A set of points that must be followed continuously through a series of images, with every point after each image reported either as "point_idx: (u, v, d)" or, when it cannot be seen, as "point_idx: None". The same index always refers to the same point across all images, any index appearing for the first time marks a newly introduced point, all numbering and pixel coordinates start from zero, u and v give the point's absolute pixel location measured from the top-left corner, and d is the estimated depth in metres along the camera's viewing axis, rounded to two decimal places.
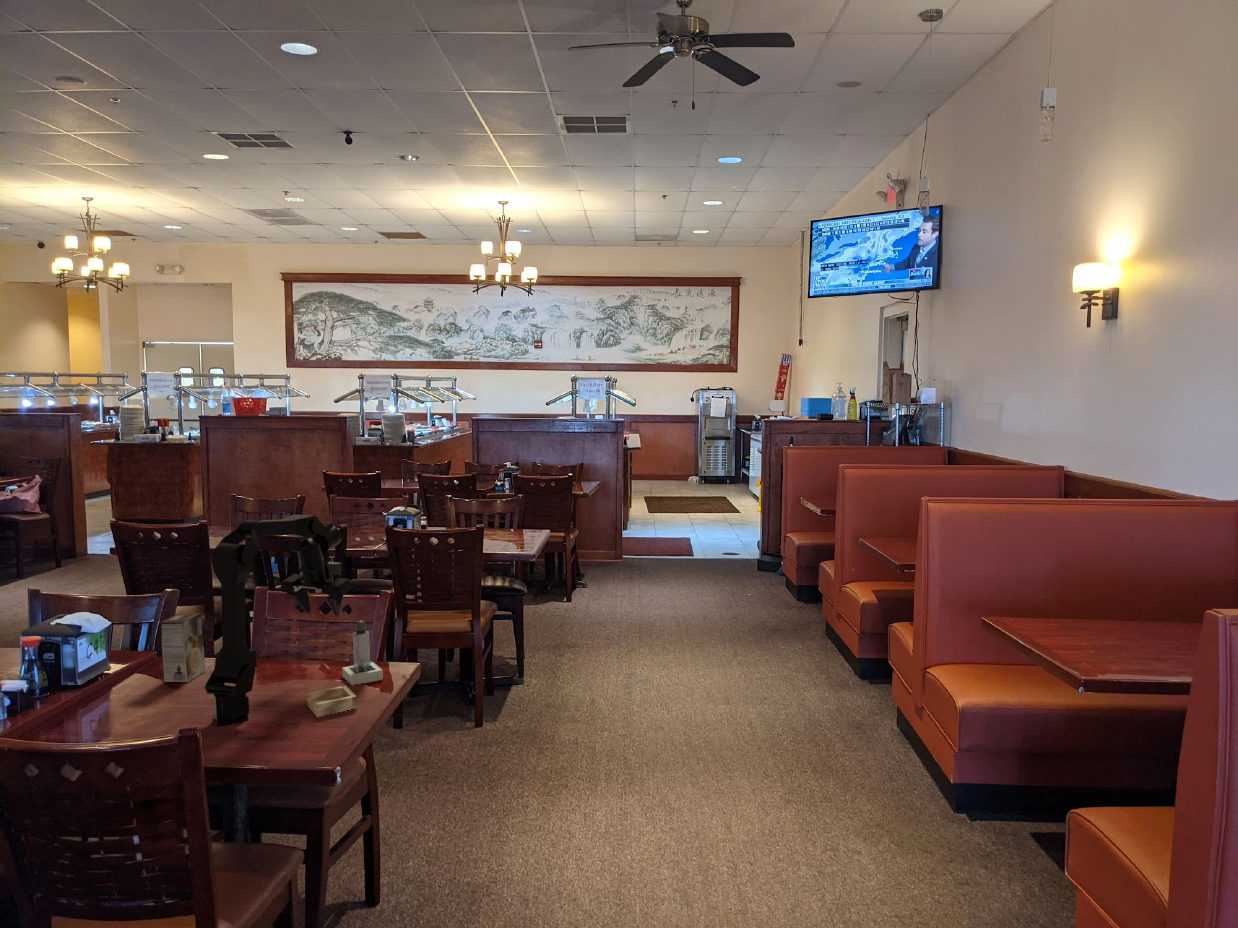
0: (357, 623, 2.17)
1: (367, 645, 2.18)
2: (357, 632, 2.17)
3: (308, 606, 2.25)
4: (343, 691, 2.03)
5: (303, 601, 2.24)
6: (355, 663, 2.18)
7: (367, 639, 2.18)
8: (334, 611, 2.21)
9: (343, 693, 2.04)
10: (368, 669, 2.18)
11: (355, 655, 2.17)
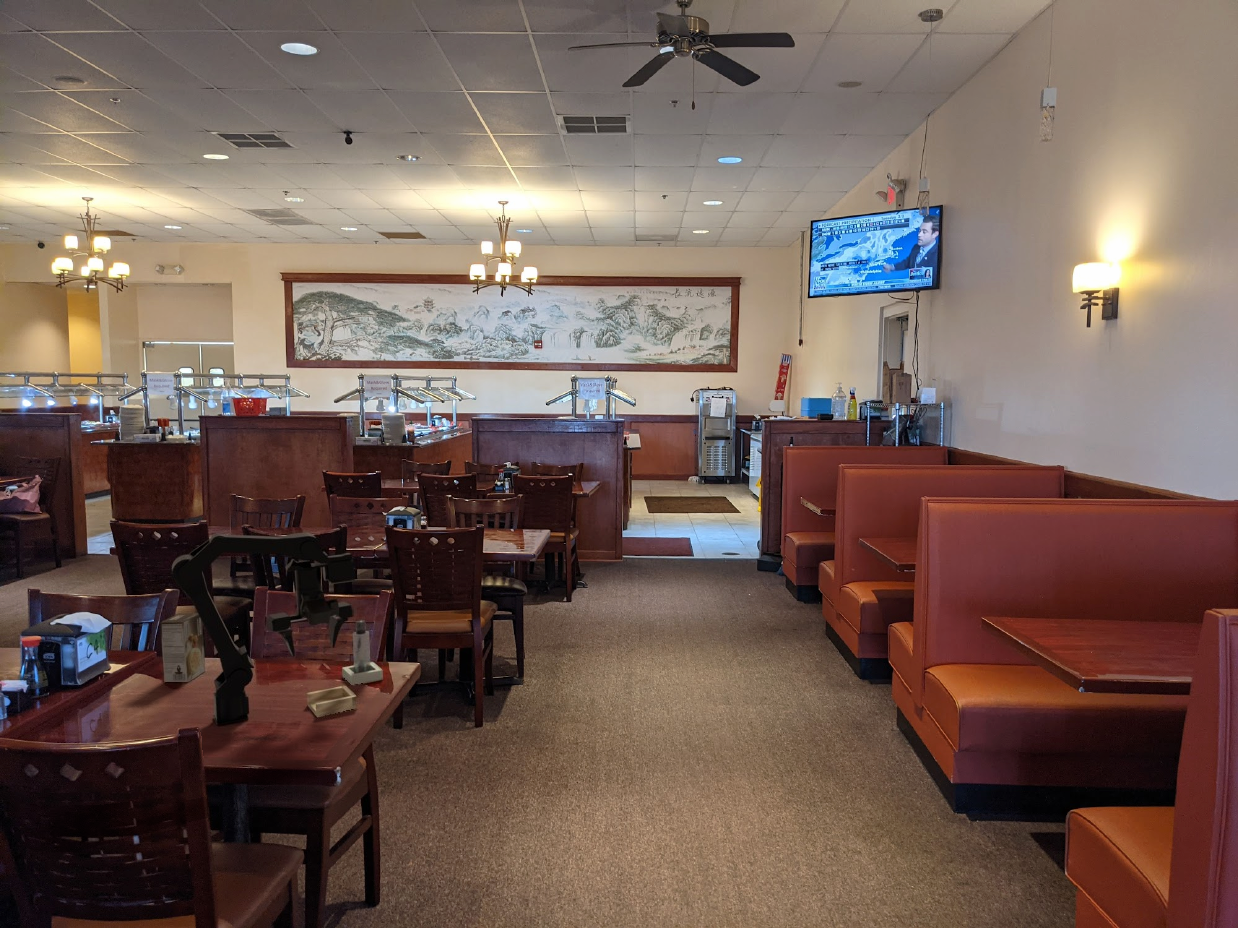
0: (357, 623, 2.17)
1: (367, 645, 2.18)
2: (357, 632, 2.17)
3: (331, 640, 2.03)
4: (343, 691, 2.03)
5: (330, 630, 2.04)
6: (355, 663, 2.18)
7: (367, 639, 2.18)
8: None
9: (343, 693, 2.04)
10: (368, 669, 2.18)
11: (355, 655, 2.17)
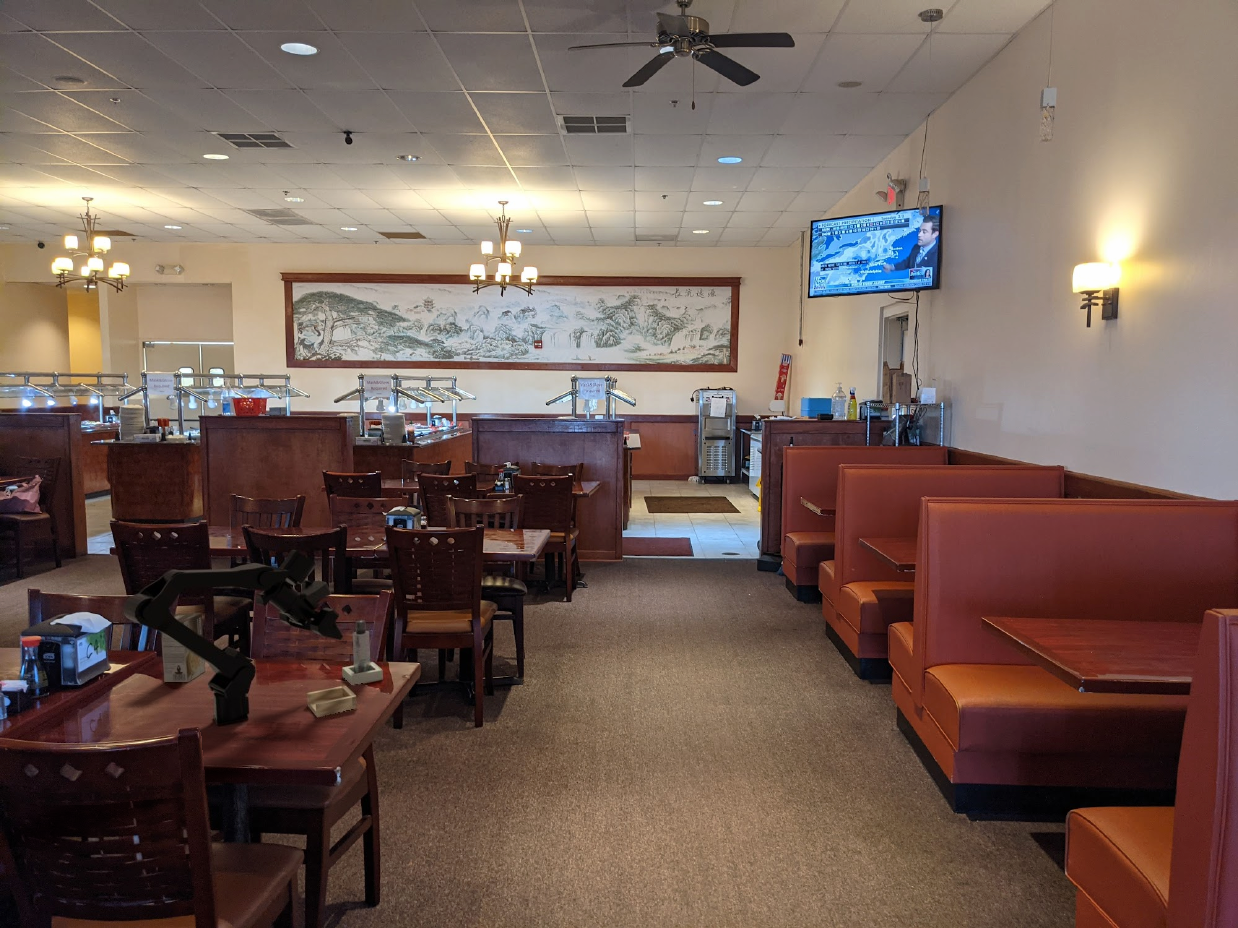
0: (357, 623, 2.17)
1: (367, 645, 2.18)
2: (357, 632, 2.17)
3: None
4: (343, 691, 2.03)
5: (308, 626, 2.12)
6: (355, 663, 2.18)
7: (367, 639, 2.18)
8: (334, 638, 2.07)
9: (343, 693, 2.04)
10: (368, 669, 2.18)
11: (355, 655, 2.17)
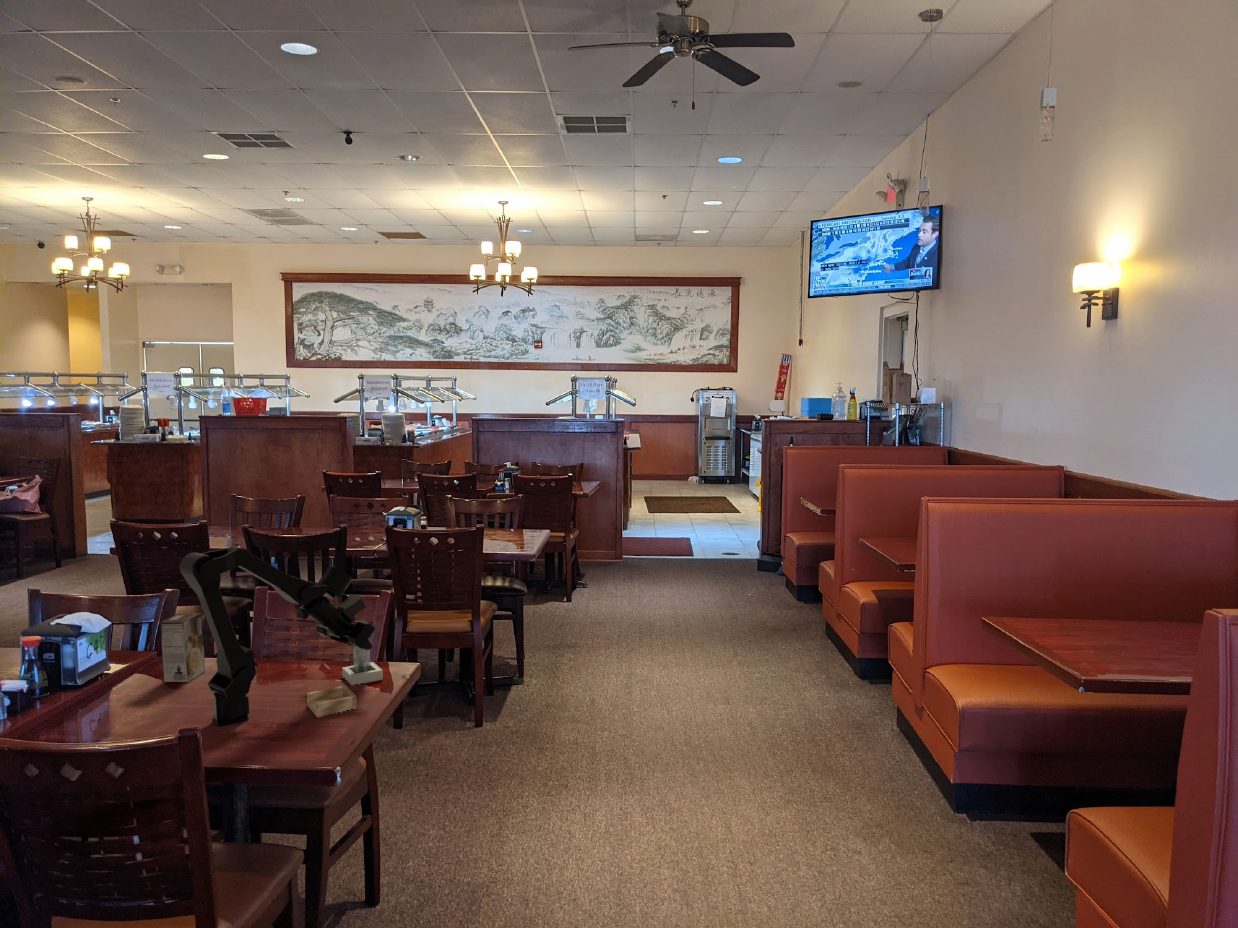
0: None
1: None
2: None
3: None
4: (343, 691, 2.03)
5: None
6: (355, 663, 2.18)
7: None
8: (364, 648, 2.16)
9: (343, 693, 2.04)
10: (368, 669, 2.19)
11: (355, 655, 2.17)
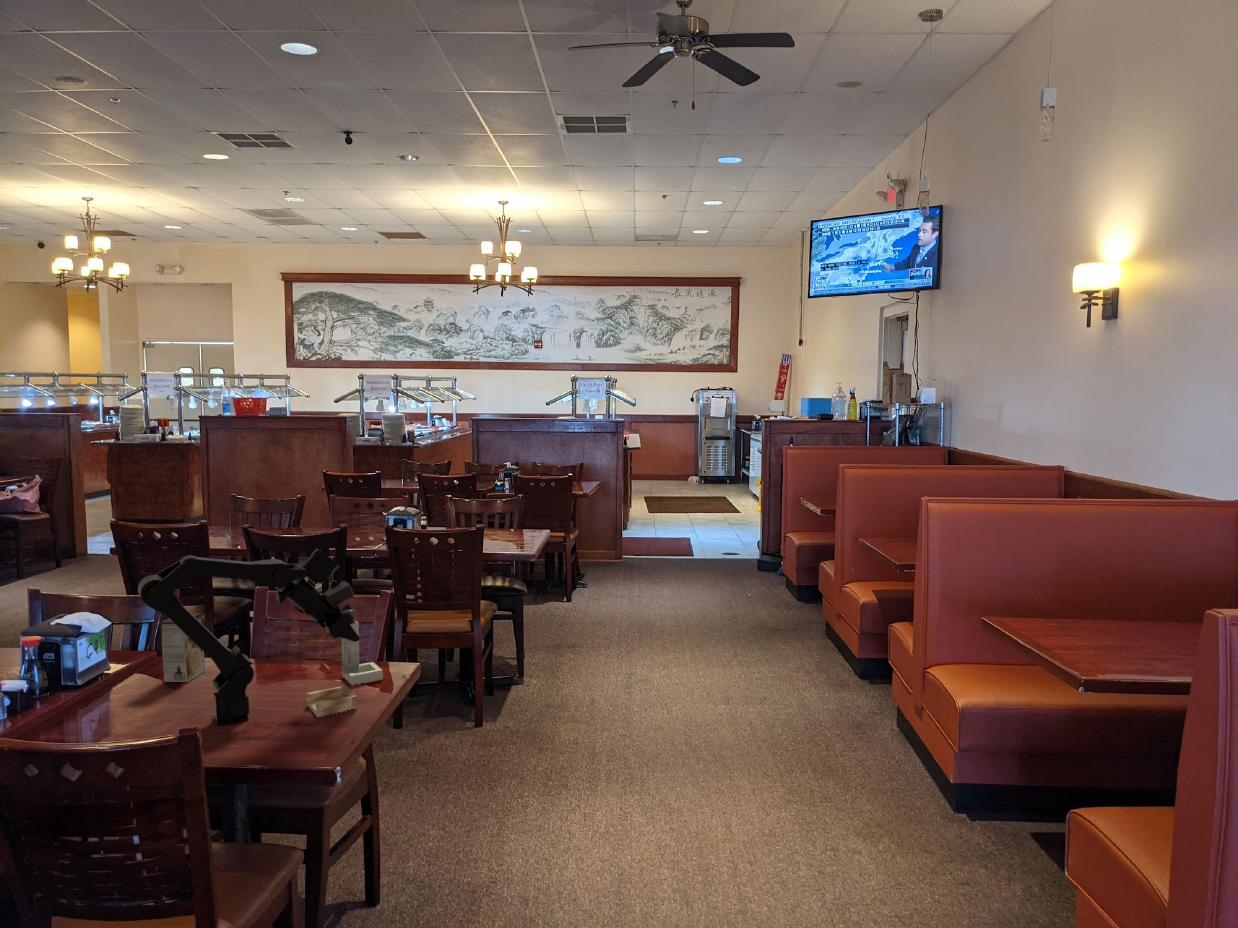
0: None
1: None
2: None
3: None
4: (343, 691, 2.03)
5: None
6: (342, 654, 2.06)
7: (355, 630, 2.06)
8: (349, 639, 2.04)
9: (343, 693, 2.04)
10: (355, 662, 2.06)
11: (342, 646, 2.06)
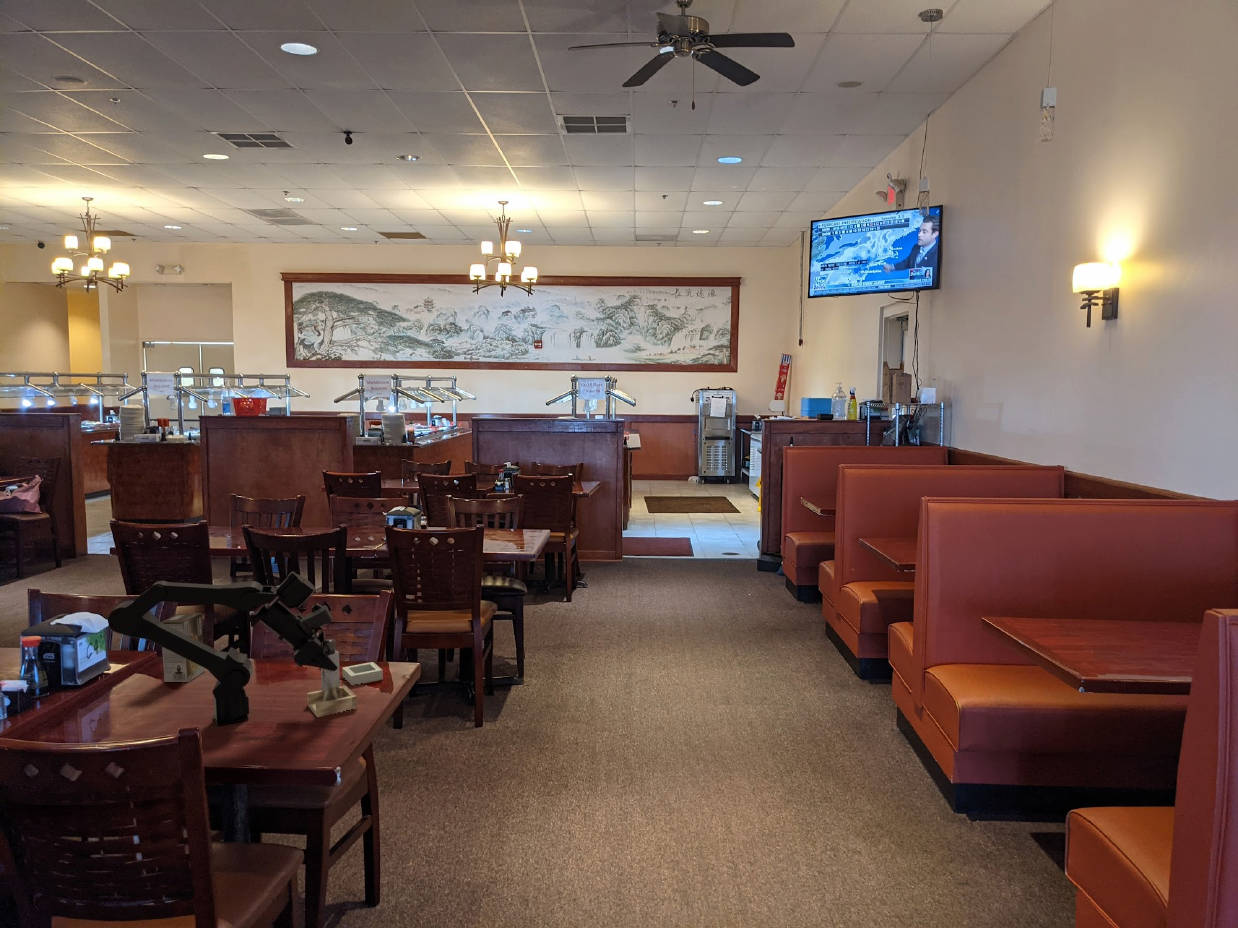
0: (324, 642, 1.98)
1: None
2: None
3: None
4: (343, 691, 2.03)
5: None
6: None
7: None
8: None
9: (343, 693, 2.04)
10: (333, 694, 1.98)
11: None
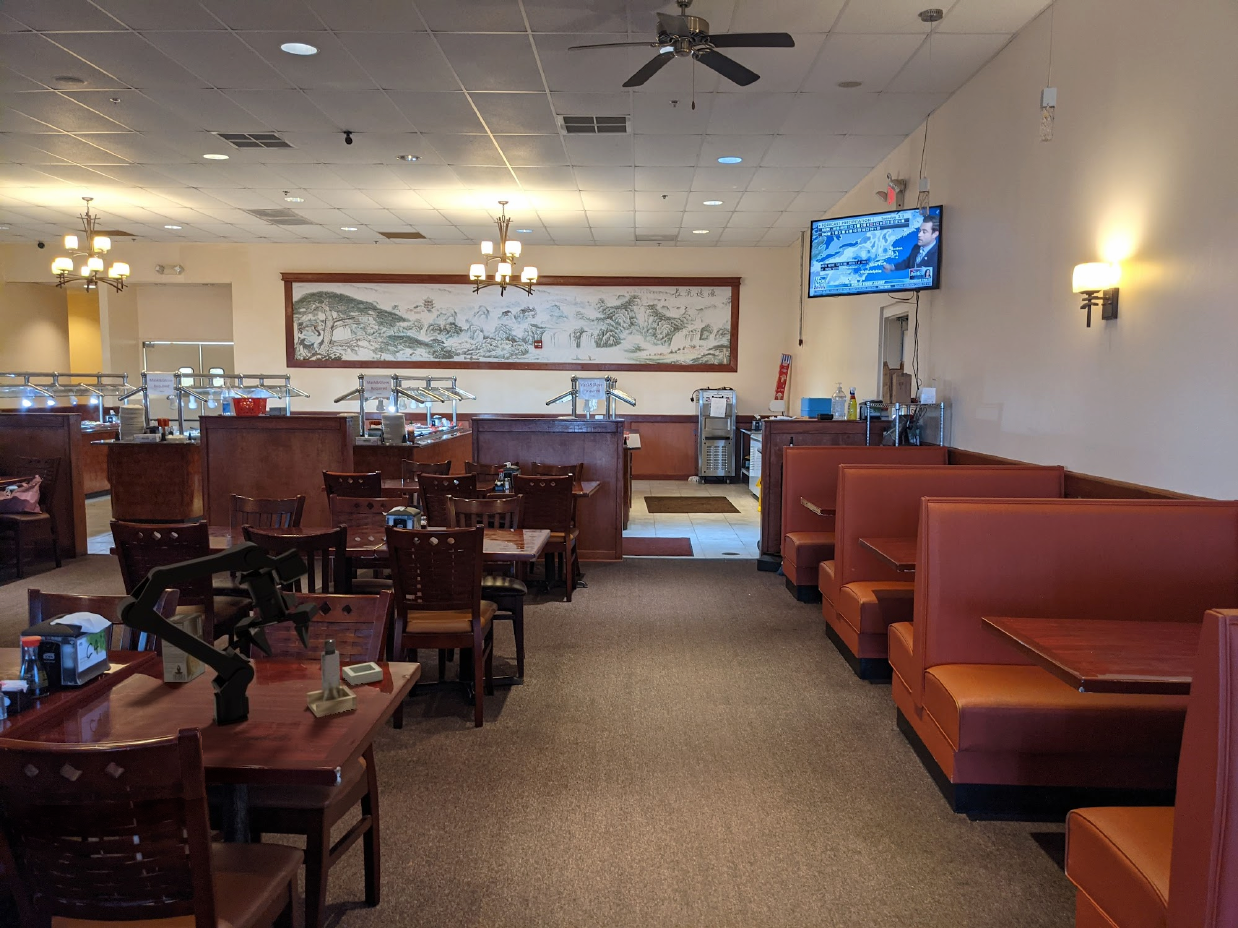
0: (324, 642, 1.97)
1: (332, 668, 1.97)
2: (324, 652, 1.98)
3: (269, 649, 2.00)
4: (343, 691, 2.03)
5: (263, 644, 1.99)
6: (322, 685, 1.98)
7: (333, 661, 1.97)
8: (304, 642, 1.98)
9: (343, 693, 2.04)
10: (333, 694, 1.98)
11: None
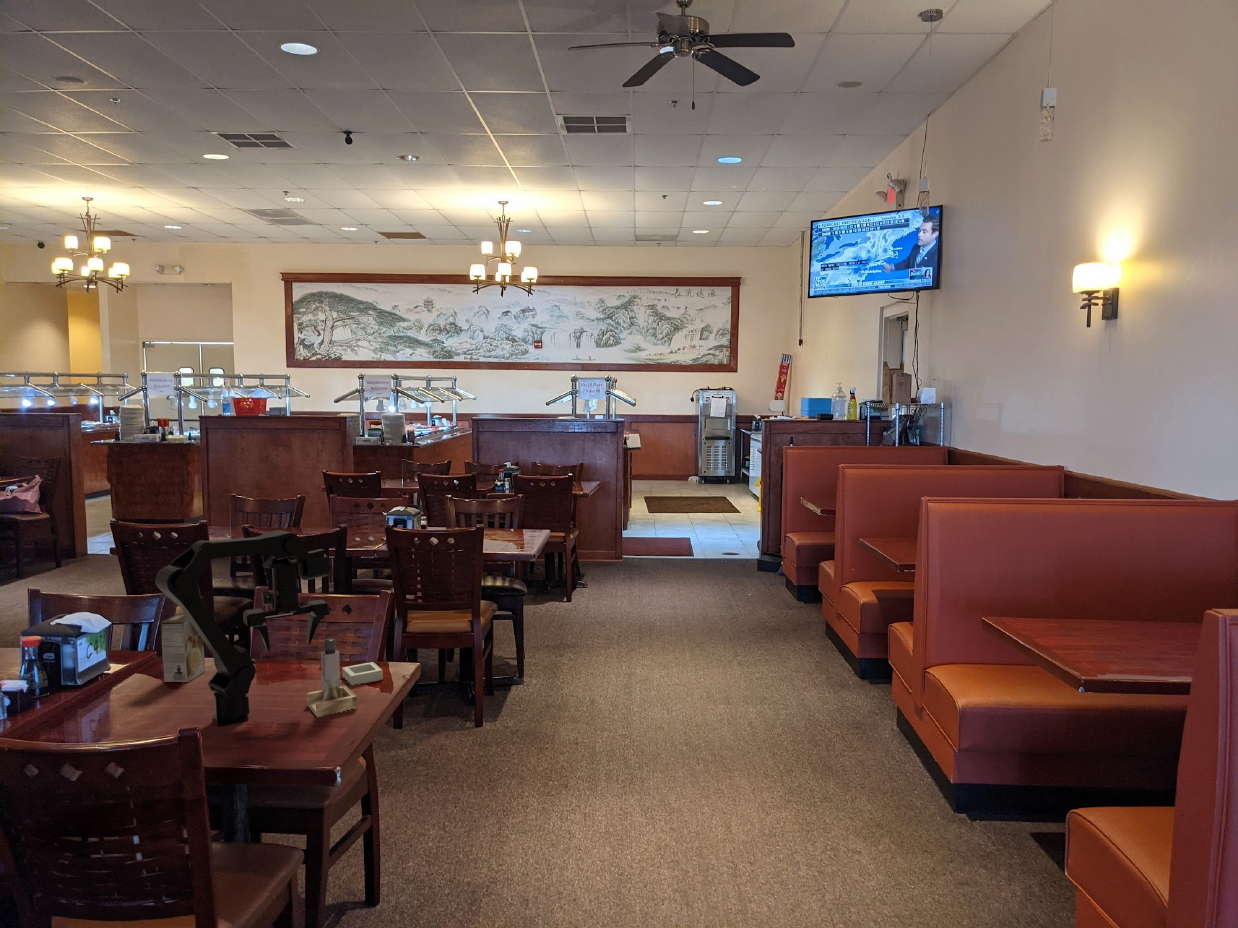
0: (324, 641, 1.98)
1: (332, 667, 1.97)
2: (324, 651, 1.98)
3: None
4: (343, 691, 2.03)
5: None
6: (322, 685, 1.98)
7: (333, 661, 1.97)
8: (311, 637, 2.04)
9: (343, 693, 2.04)
10: (333, 694, 1.98)
11: None
